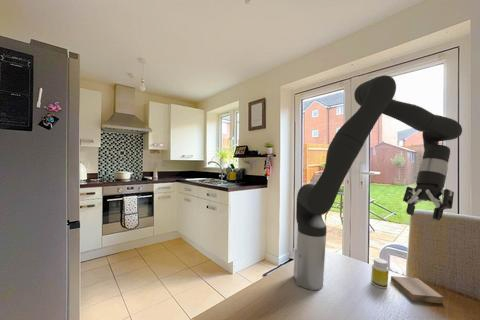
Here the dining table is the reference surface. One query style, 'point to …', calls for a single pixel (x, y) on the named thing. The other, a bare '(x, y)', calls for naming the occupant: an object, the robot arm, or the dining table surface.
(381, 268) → the supplement bottle
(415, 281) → the block
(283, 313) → the dining table surface
